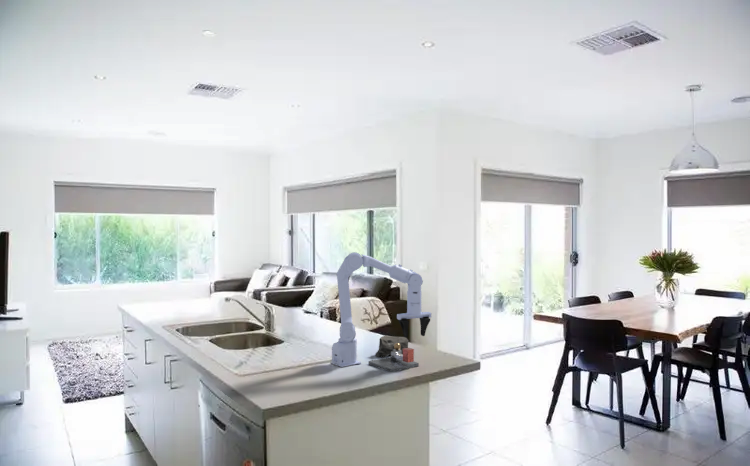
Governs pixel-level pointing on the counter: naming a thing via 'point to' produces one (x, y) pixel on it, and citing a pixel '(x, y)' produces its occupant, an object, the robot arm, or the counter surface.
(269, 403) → the counter surface
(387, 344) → the stone
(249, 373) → the counter surface
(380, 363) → the base
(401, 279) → the robot arm
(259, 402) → the counter surface
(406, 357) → the lever
